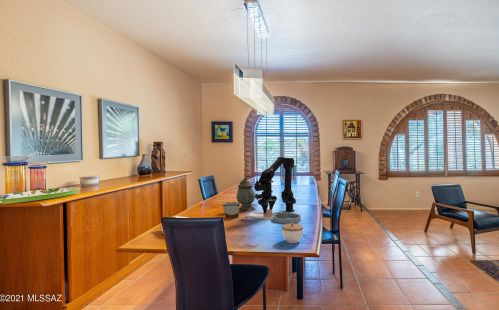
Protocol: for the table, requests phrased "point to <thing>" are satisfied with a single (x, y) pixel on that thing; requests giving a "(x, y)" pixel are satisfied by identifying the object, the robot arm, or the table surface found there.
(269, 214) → the matte tan cube
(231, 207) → the food container
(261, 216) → the parts tray
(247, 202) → the grey stone urn
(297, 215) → the bowl
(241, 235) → the table surface
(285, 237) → the lidded jar
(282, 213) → the gray chunky prism
